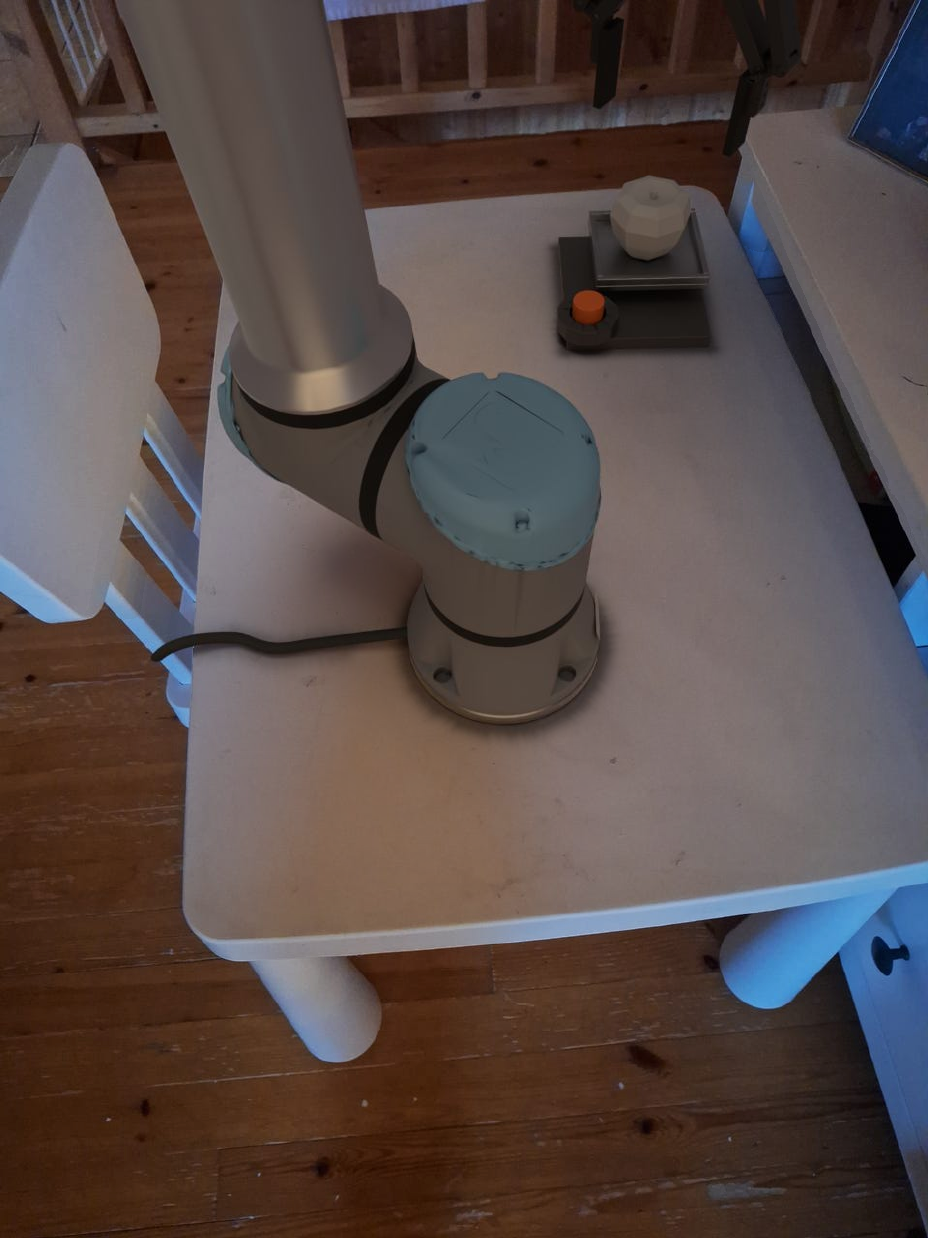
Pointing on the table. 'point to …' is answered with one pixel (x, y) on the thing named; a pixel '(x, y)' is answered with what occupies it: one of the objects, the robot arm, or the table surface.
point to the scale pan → (661, 273)
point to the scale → (626, 310)
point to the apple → (650, 216)
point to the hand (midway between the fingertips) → (666, 124)
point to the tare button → (588, 307)
